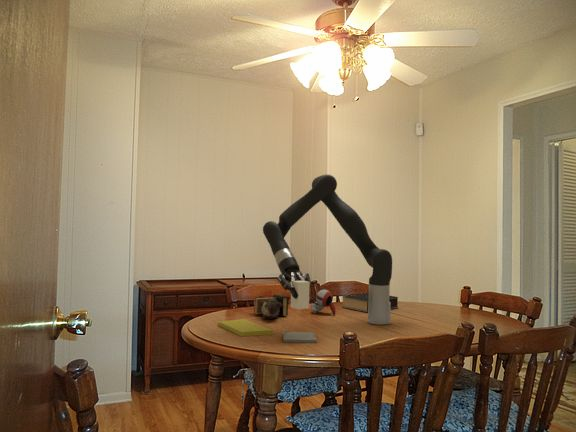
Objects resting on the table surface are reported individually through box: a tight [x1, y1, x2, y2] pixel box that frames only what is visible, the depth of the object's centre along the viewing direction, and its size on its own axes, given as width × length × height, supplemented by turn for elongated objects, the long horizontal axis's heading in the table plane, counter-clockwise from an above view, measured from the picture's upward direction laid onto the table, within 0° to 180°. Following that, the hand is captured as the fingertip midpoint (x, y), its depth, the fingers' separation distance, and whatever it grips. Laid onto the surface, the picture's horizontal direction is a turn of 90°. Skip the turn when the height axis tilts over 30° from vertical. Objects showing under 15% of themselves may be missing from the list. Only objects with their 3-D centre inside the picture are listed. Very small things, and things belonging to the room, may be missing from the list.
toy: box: [309, 289, 336, 316], centre depth 222 cm, size 14×15×14 cm
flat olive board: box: [217, 318, 273, 337], centre depth 181 cm, size 12×2×24 cm
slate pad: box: [282, 331, 318, 344], centre depth 169 cm, size 12×12×1 cm
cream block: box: [290, 281, 311, 310], centre depth 169 cm, size 5×5×10 cm
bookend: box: [253, 294, 289, 320], centre depth 208 cm, size 14×11×24 cm
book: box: [342, 292, 399, 313], centre depth 239 cm, size 17×25×7 cm
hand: (302, 296), depth 167 cm, fingers closed on cream block, 5 cm apart
